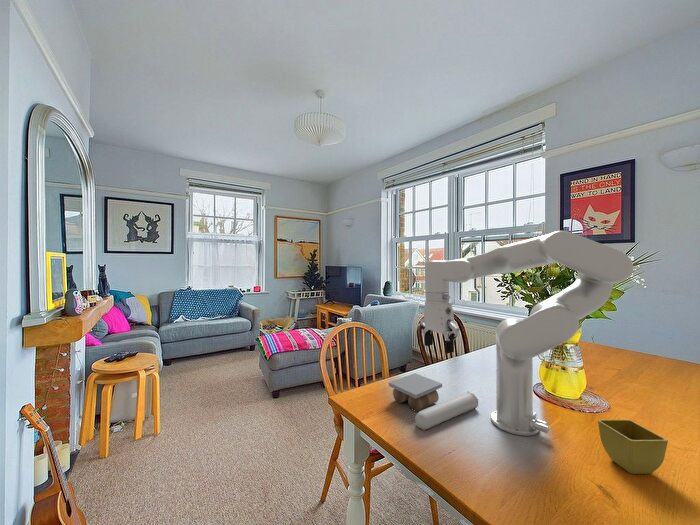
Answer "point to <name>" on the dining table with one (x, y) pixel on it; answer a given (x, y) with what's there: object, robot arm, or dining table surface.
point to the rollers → (416, 403)
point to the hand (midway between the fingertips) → (438, 348)
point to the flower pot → (632, 445)
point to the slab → (415, 385)
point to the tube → (446, 410)
